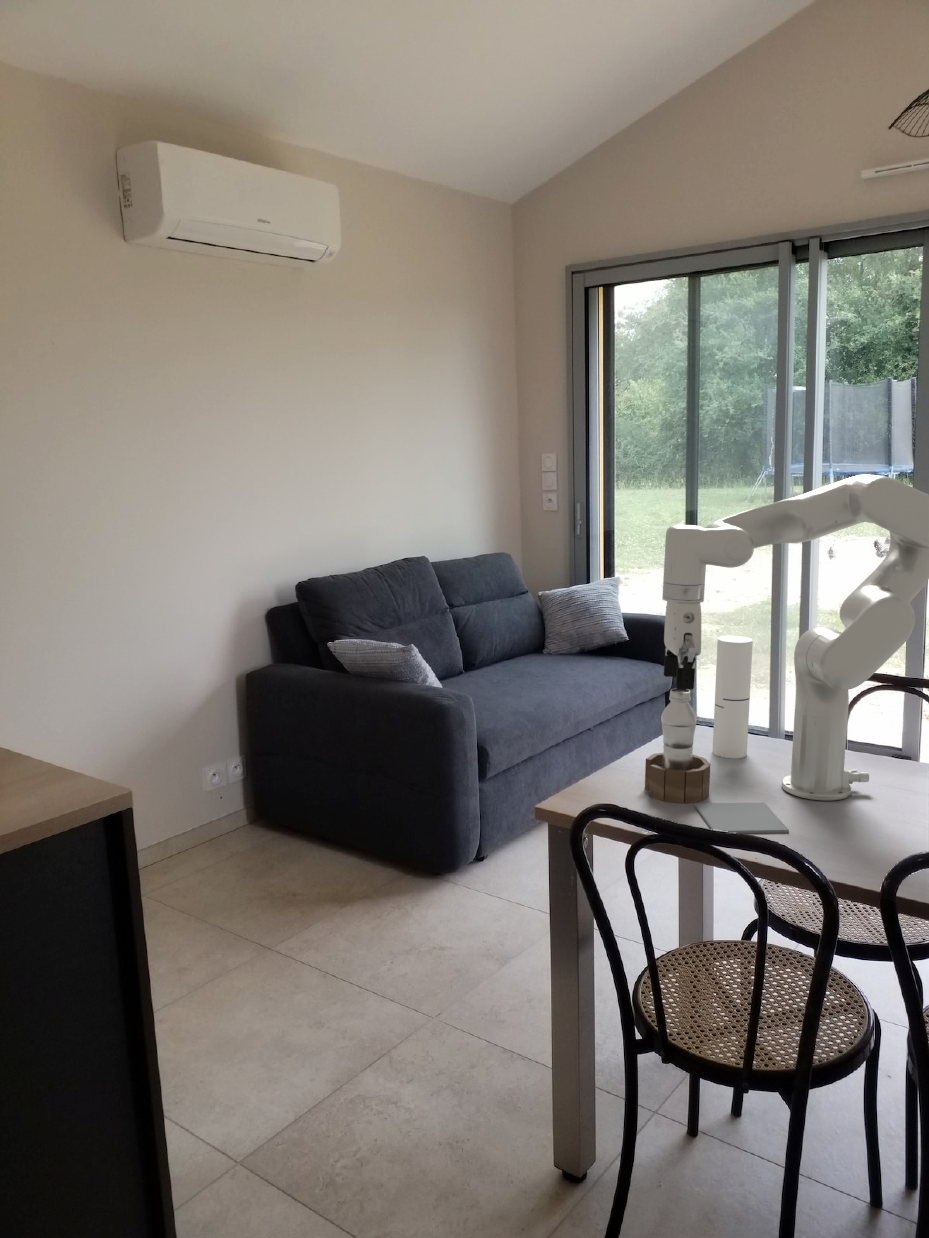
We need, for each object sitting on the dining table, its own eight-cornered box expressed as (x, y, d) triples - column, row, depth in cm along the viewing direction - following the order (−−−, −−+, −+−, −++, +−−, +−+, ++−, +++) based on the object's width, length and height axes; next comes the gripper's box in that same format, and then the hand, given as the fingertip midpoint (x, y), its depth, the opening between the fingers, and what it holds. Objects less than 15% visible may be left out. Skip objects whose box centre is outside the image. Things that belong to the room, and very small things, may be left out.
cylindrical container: (740, 760, 210) (746, 643, 206) (707, 754, 214) (712, 640, 210) (751, 751, 216) (757, 638, 212) (719, 746, 220) (724, 634, 215)
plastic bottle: (695, 798, 188) (699, 695, 185) (658, 796, 190) (662, 693, 186) (694, 787, 194) (698, 687, 191) (658, 784, 196) (662, 685, 192)
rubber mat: (764, 804, 185) (764, 802, 185) (788, 832, 172) (789, 829, 172) (694, 805, 185) (694, 803, 185) (713, 833, 172) (713, 830, 172)
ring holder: (698, 780, 198) (699, 751, 197) (715, 802, 186) (716, 771, 185) (640, 781, 198) (641, 752, 197) (653, 803, 186) (654, 772, 185)
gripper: (716, 600, 177) (710, 694, 180) (691, 585, 194) (686, 671, 197) (674, 599, 176) (669, 694, 179) (653, 585, 193) (648, 671, 196)
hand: (678, 682), depth 188 cm, fingers open, 9 cm apart
